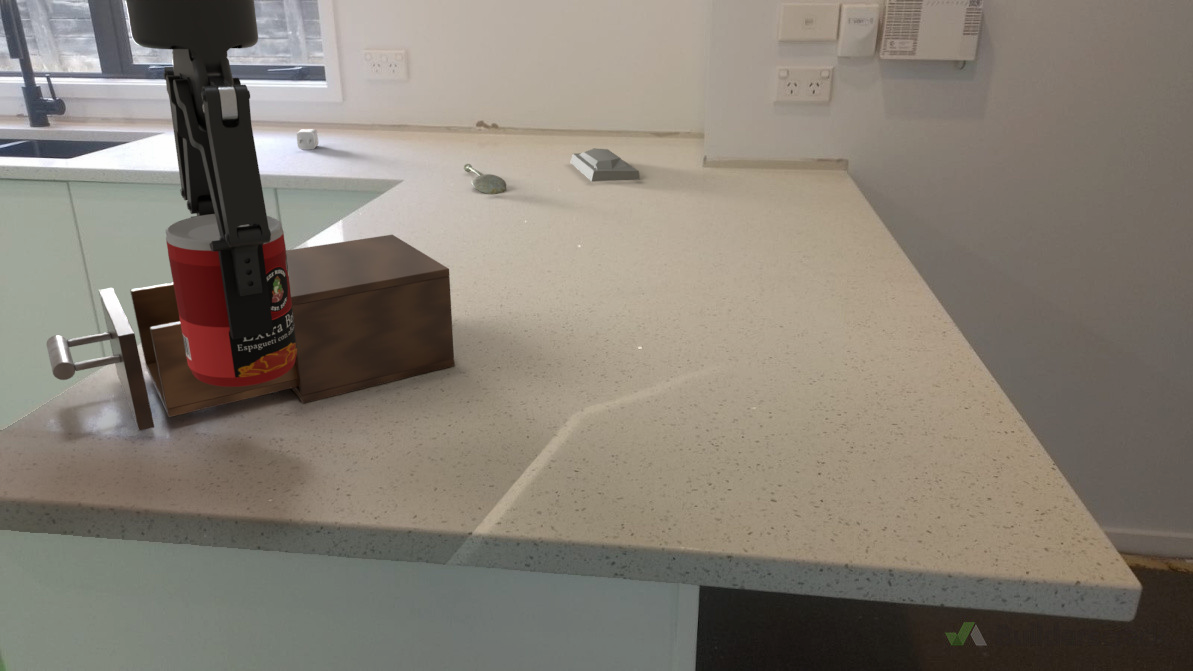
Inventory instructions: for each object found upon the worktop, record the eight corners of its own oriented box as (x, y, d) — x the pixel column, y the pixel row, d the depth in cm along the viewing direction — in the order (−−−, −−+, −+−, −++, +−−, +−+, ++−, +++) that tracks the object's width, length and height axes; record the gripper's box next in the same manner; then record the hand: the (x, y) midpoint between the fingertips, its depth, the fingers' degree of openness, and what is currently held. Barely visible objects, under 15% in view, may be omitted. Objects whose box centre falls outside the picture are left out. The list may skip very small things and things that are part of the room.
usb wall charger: (318, 145, 203) (316, 129, 201) (313, 151, 197) (311, 133, 195) (301, 145, 202) (299, 129, 201) (295, 151, 196) (293, 133, 195)
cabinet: (303, 403, 79) (289, 297, 75) (261, 351, 90) (247, 256, 86) (454, 366, 87) (449, 268, 83) (399, 322, 98) (392, 234, 94)
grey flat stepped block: (591, 181, 171) (591, 164, 169) (570, 162, 189) (570, 147, 187) (639, 179, 173) (640, 162, 172) (614, 161, 191) (614, 145, 190)
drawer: (71, 447, 69) (46, 349, 66) (57, 387, 79) (35, 299, 76) (309, 390, 79) (298, 303, 76) (270, 343, 89) (258, 264, 86)
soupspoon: (476, 198, 158) (510, 197, 160) (476, 181, 157) (510, 180, 159) (452, 171, 177) (483, 171, 179) (452, 155, 175) (483, 155, 178)
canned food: (251, 397, 59) (230, 247, 55) (163, 377, 62) (136, 232, 57) (320, 356, 66) (306, 220, 62) (238, 340, 68) (219, 207, 64)
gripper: (297, -14, 47) (334, 353, 56) (214, -20, 63) (253, 268, 72) (151, -18, 43) (215, 378, 52) (100, -23, 59) (156, 282, 68)
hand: (237, 314), depth 62 cm, fingers closed on canned food, 8 cm apart
